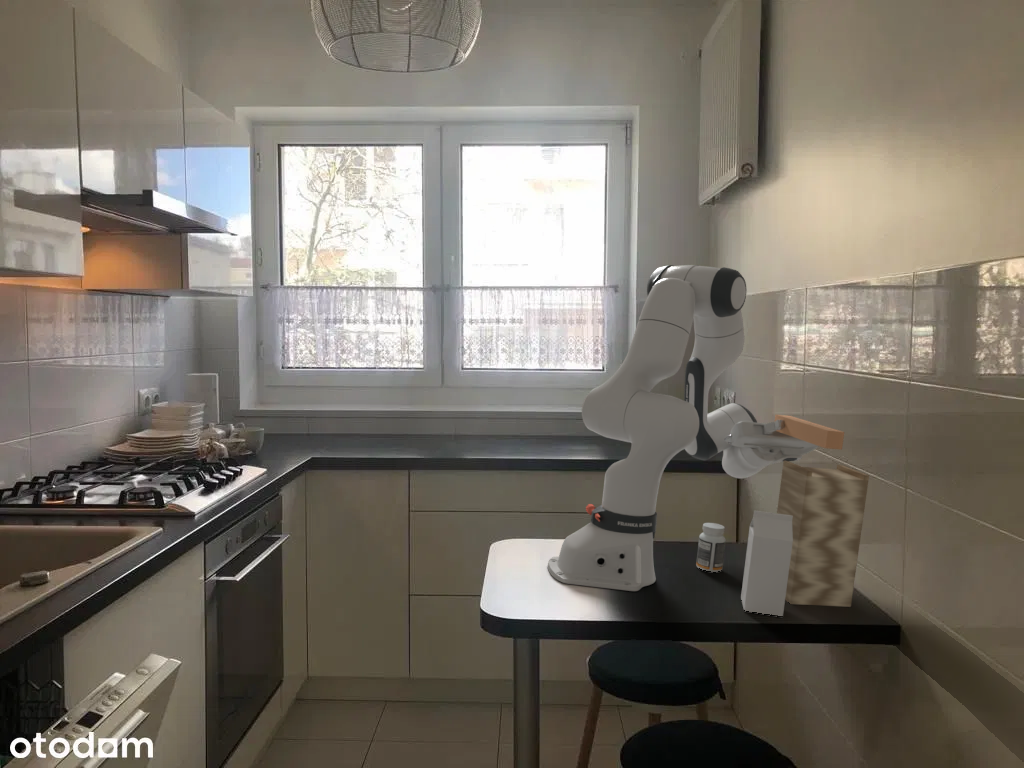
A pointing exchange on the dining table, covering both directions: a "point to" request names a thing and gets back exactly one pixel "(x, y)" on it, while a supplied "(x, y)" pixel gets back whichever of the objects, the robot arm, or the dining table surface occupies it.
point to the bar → (811, 432)
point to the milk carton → (767, 563)
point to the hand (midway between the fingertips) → (792, 423)
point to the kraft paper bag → (823, 531)
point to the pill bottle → (711, 547)
